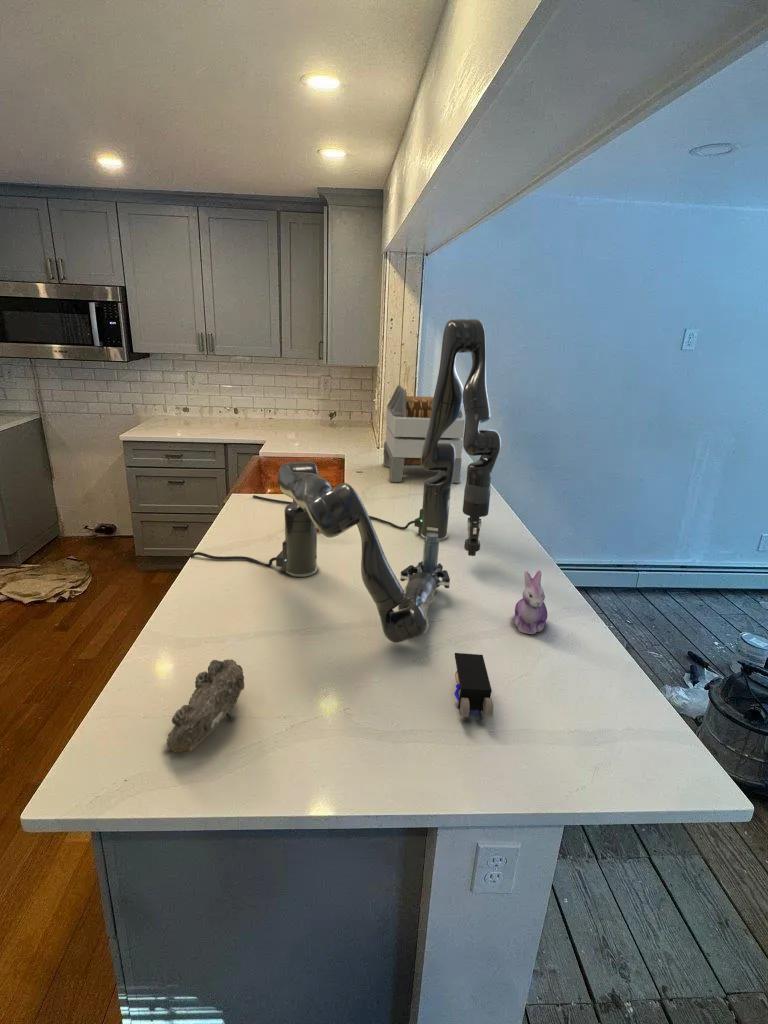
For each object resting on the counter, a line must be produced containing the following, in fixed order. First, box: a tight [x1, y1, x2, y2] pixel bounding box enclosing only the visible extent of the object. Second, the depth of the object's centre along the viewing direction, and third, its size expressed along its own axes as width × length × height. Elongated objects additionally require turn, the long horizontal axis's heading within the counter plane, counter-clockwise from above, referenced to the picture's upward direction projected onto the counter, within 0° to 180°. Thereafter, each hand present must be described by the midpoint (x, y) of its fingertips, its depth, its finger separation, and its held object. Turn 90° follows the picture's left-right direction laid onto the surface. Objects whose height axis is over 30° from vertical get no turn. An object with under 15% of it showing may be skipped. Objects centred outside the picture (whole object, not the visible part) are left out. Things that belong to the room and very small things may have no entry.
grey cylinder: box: [422, 532, 440, 573], centre depth 158 cm, size 4×4×17 cm
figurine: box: [513, 569, 548, 635], centre depth 142 cm, size 9×10×15 cm
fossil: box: [166, 658, 245, 754], centre depth 106 cm, size 22×10×15 cm
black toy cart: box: [454, 652, 494, 722], centre depth 114 cm, size 7×8×15 cm
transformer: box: [383, 384, 465, 484], centre depth 268 cm, size 34×33×41 cm
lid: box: [463, 538, 481, 553], centre depth 170 cm, size 5×5×2 cm
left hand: (431, 565), depth 161 cm, fingers closed on grey cylinder, 4 cm apart
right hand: (471, 551), depth 171 cm, fingers closed on lid, 4 cm apart
